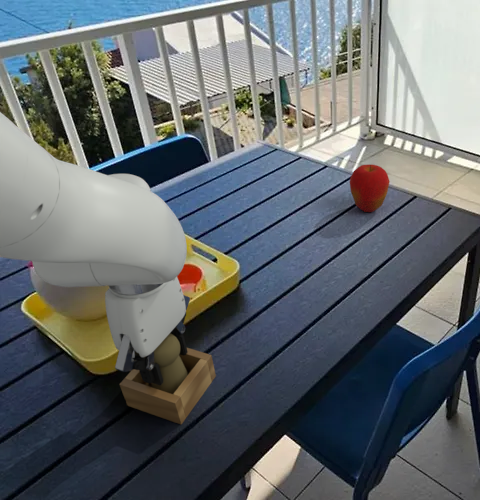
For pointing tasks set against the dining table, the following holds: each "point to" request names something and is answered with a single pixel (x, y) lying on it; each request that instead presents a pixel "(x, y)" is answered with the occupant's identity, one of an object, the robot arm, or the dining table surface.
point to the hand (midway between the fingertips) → (165, 365)
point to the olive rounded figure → (169, 364)
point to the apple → (369, 187)
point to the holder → (182, 399)
